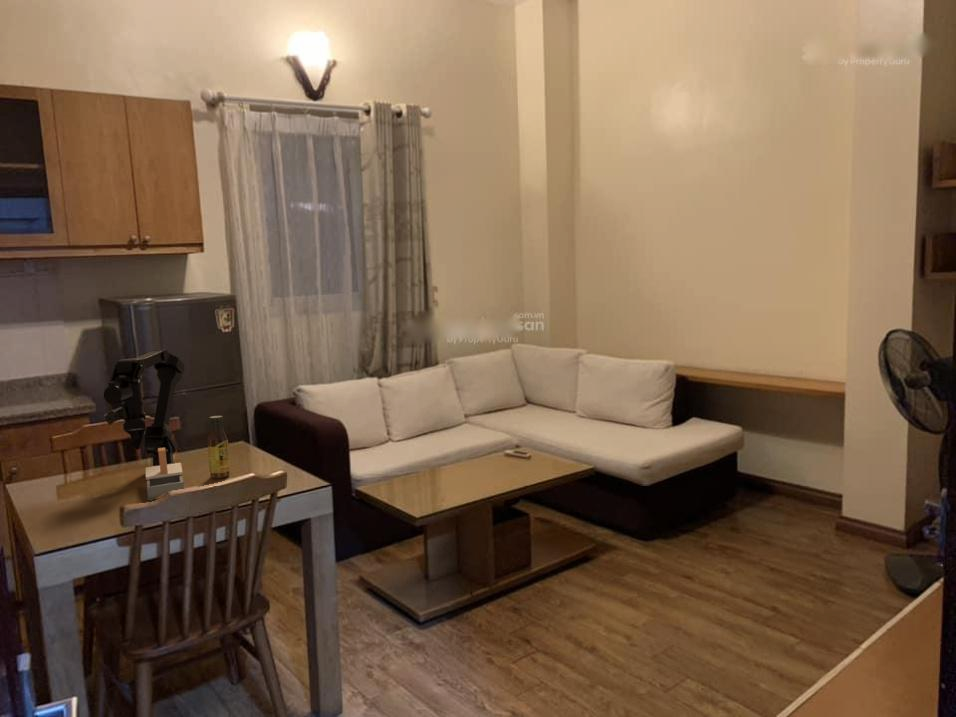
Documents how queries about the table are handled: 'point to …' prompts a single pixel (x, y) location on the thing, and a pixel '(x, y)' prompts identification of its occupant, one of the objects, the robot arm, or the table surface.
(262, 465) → the table surface
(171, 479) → the parts tub
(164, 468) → the lid
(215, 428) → the sauce bottle
